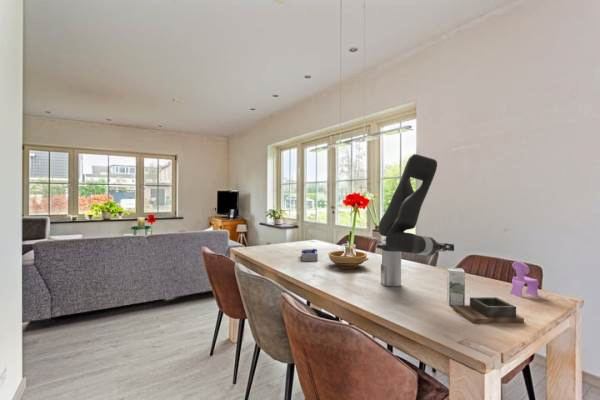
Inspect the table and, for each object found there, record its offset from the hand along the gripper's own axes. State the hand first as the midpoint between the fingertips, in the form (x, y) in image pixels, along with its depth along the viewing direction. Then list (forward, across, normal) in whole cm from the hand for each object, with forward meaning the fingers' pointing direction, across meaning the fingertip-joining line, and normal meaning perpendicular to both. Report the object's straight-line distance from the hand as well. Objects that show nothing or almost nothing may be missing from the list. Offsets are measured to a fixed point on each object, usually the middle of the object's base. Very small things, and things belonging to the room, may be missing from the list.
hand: (442, 248), depth 130 cm
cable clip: (+16, +103, +5) cm, 104 cm away
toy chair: (+37, -19, +18) cm, 45 cm away
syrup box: (+2, -4, +23) cm, 23 cm away
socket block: (-2, -16, +25) cm, 30 cm away
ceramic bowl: (+19, +69, +10) cm, 72 cm away
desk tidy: (+16, +103, +5) cm, 104 cm away
